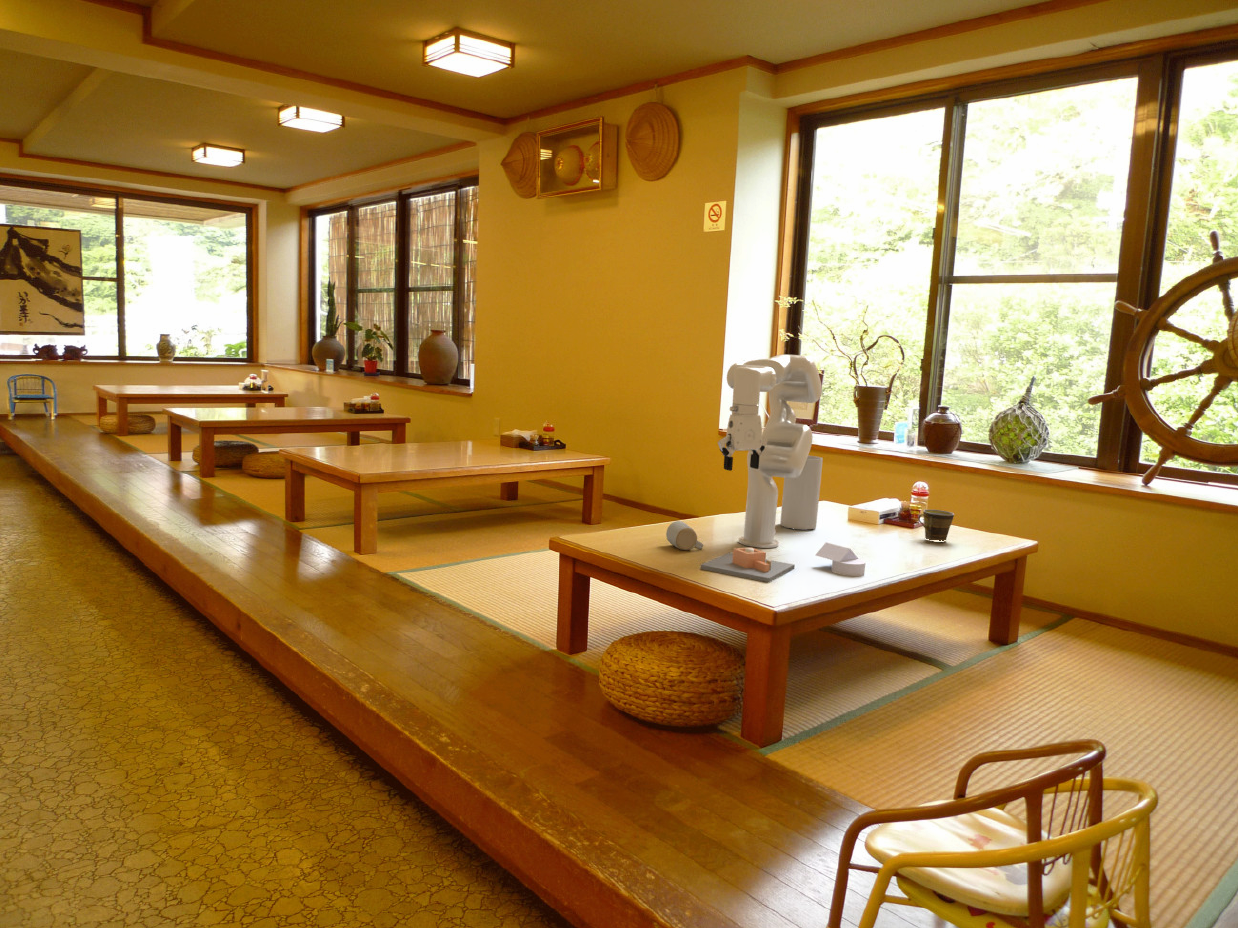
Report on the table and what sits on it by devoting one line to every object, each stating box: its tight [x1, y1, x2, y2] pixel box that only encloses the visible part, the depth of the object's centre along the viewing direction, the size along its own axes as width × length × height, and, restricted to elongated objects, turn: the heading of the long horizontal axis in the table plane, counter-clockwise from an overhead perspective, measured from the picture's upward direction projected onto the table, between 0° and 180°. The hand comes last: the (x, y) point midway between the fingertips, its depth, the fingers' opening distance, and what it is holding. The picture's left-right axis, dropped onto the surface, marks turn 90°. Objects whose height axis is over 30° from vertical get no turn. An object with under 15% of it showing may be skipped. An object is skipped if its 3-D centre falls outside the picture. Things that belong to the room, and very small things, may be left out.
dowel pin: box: [766, 559, 772, 570], centre depth 240 cm, size 1×1×2 cm
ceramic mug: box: [665, 520, 704, 551], centre depth 265 cm, size 11×8×8 cm
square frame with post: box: [732, 546, 770, 572], centre depth 242 cm, size 11×6×4 cm, turn 29°
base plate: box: [699, 547, 796, 583], centre depth 244 cm, size 20×20×6 cm
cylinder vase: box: [779, 455, 824, 531], centre depth 309 cm, size 12×12×25 cm
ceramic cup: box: [917, 509, 955, 541], centre depth 300 cm, size 13×10×10 cm
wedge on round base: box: [815, 542, 866, 577], centre depth 250 cm, size 9×7×13 cm
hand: (741, 469), depth 254 cm, fingers open, 9 cm apart
